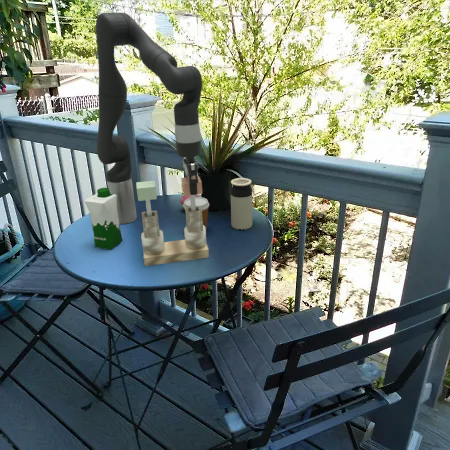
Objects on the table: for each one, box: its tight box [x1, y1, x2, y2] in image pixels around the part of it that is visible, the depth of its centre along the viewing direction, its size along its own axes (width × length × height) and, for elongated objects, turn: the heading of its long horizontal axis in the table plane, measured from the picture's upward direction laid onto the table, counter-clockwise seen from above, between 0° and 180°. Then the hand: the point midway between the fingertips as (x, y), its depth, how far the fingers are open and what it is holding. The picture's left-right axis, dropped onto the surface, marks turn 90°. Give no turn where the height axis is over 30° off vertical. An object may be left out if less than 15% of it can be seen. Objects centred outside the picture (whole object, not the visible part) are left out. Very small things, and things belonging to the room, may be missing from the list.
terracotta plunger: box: [181, 176, 203, 211], centre depth 127 cm, size 6×6×11 cm
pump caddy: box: [140, 206, 210, 267], centre depth 131 cm, size 21×9×16 cm, turn 102°
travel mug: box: [230, 177, 253, 230], centre depth 149 cm, size 8×8×18 cm
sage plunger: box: [135, 180, 158, 216], centre depth 125 cm, size 6×6×11 cm
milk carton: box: [84, 187, 123, 251], centre depth 139 cm, size 9×9×20 cm
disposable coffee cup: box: [182, 196, 210, 230], centre depth 148 cm, size 10×10×12 cm
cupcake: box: [179, 195, 200, 206], centre depth 165 cm, size 9×8×12 cm
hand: (191, 189), depth 126 cm, fingers open, 8 cm apart
